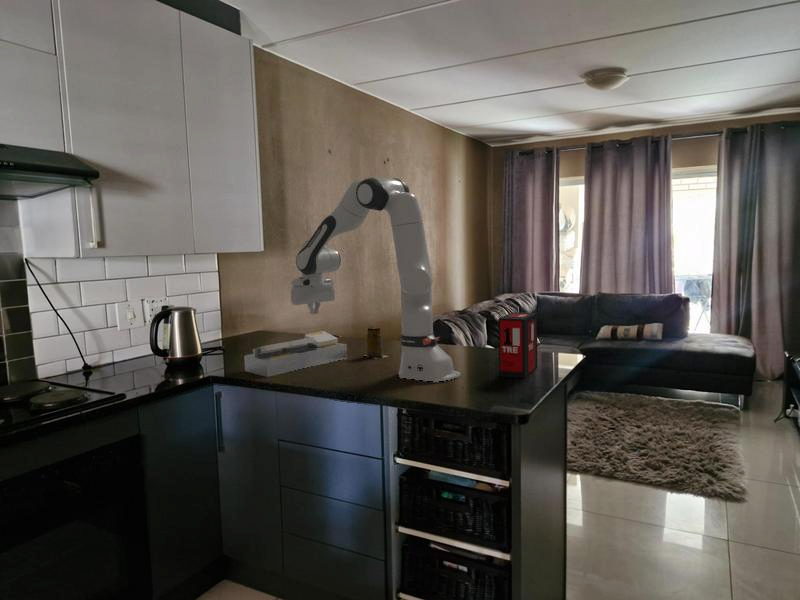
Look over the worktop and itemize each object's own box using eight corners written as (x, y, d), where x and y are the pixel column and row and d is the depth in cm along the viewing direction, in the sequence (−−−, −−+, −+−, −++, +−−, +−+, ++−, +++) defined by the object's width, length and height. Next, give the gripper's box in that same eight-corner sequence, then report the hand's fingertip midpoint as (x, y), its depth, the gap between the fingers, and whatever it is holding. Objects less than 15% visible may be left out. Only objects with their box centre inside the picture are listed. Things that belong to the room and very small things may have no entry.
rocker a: (337, 342, 226) (338, 338, 226) (317, 346, 219) (318, 342, 218) (323, 335, 232) (324, 330, 232) (303, 339, 225) (304, 334, 224)
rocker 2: (314, 341, 217) (313, 336, 217) (293, 345, 210) (292, 340, 210) (301, 345, 223) (300, 340, 223) (280, 349, 216) (279, 344, 216)
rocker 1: (289, 346, 208) (288, 341, 209) (266, 351, 201) (264, 345, 201) (276, 350, 215) (275, 344, 215) (253, 354, 207) (252, 349, 207)
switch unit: (347, 358, 226) (346, 336, 225) (267, 376, 198) (266, 351, 198) (323, 354, 236) (322, 332, 235) (245, 371, 209) (243, 346, 208)
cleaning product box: (524, 378, 186) (524, 319, 184) (499, 375, 190) (498, 318, 188) (537, 367, 200) (537, 313, 198) (513, 366, 205) (513, 312, 203)
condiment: (376, 354, 234) (375, 326, 233) (388, 356, 228) (388, 328, 227) (362, 356, 230) (361, 328, 229) (374, 359, 223) (373, 330, 222)
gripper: (327, 278, 235) (329, 310, 236) (288, 281, 220) (289, 316, 221) (337, 278, 231) (338, 311, 232) (297, 282, 216) (299, 317, 217)
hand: (314, 313), depth 227 cm, fingers closed
